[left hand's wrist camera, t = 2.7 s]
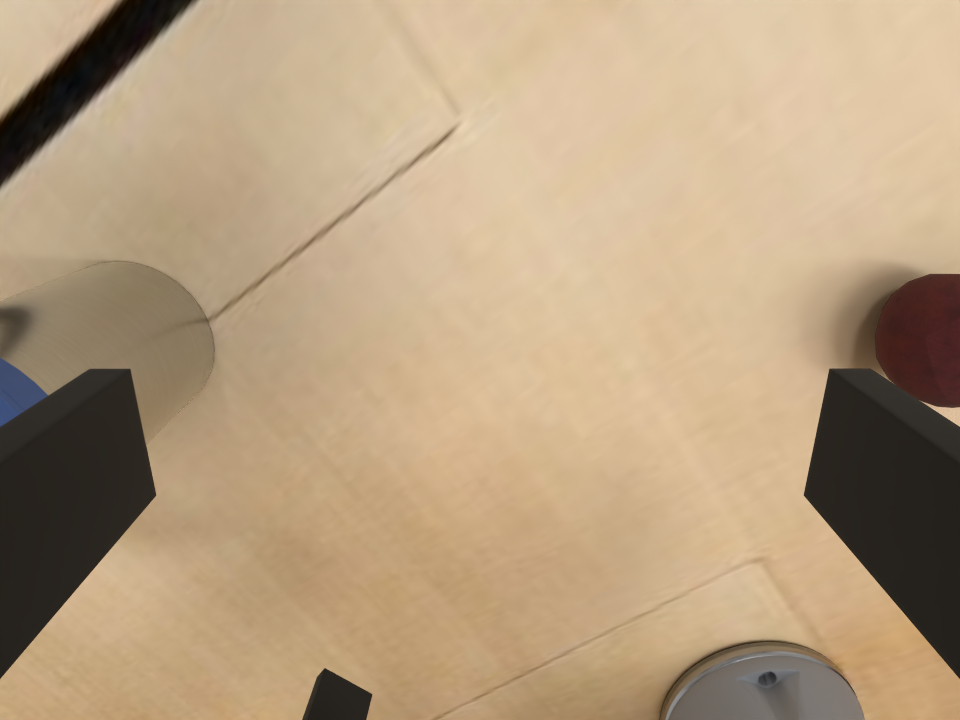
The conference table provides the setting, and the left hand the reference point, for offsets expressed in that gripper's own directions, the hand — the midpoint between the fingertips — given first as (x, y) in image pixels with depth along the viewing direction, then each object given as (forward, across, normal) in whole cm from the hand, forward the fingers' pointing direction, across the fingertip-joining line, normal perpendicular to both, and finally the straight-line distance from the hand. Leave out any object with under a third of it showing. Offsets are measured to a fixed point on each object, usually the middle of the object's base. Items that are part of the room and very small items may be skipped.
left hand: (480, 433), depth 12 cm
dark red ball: (+28, +27, -6) cm, 39 cm away
